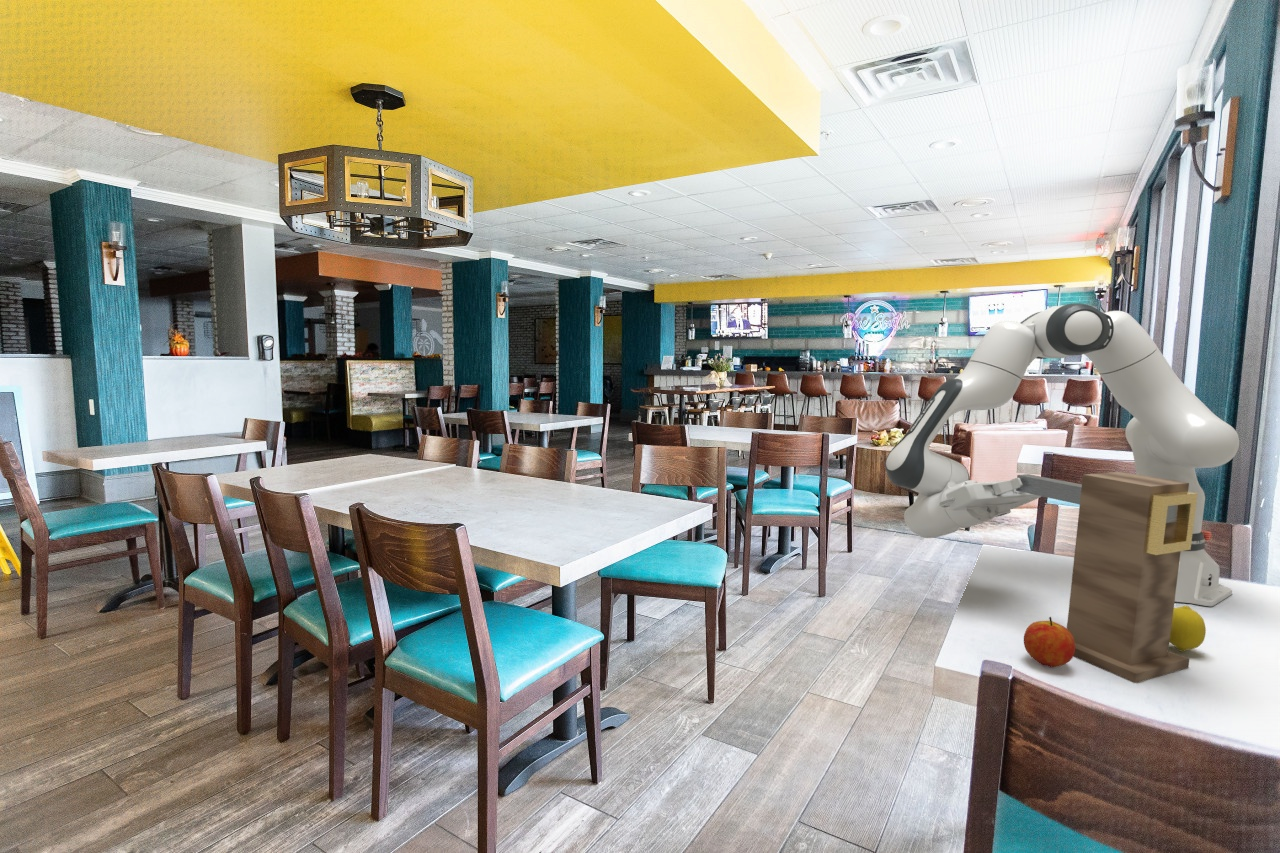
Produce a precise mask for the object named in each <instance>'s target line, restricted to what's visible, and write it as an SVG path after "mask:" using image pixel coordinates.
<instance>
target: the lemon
mask: <svg viewBox="0 0 1280 853" xmlns="http://www.w3.org/2000/svg"><path fill="white" fill-rule="evenodd" d="M1206 628H1207V627H1206V623H1205V621H1204V618H1203V617H1202V615H1201V614H1199V613H1198V612H1197V611H1196V610H1194V609H1192V608H1191V607H1190V606H1188V605H1183V606H1178V607H1174V609H1173V617H1172V625H1171V633H1170V642H1169V644H1171V646H1174V647H1175V649H1177V650H1178V651H1179V652H1185V651H1187V650H1193V649H1197V648H1198V647H1199V646H1201V645H1202V644H1203V642H1204V641H1205V638H1206V631H1207V629H1206Z"/></svg>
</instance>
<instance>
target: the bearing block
mask: <svg viewBox="0 0 1280 853" xmlns="http://www.w3.org/2000/svg"><path fill="white" fill-rule="evenodd" d="M1081 481H1082V482H1081V484H1082V488H1081V498H1080V505H1079V509H1078V519H1077V528H1076V536H1075V537H1076V538H1075V547H1074V556H1073V566H1072V573H1071V574H1072V576H1071V585H1070V593H1069V603H1068V604H1069V605H1068V613H1067V623H1066V624H1067V625H1066V629H1068V630H1069V631H1070V633H1071V634H1072V636H1073V638H1074V642H1075V653H1074V656H1073V657H1074V658H1076V659H1079V660H1081V661H1084V662H1085V663H1088V664H1090V665H1092V666H1094V667H1097V668H1099V669H1102V670H1104V671H1106V672H1109V673H1110V674H1112V675H1113V674H1114V675H1116V676H1118V677H1120V678H1122V679H1124V680H1127V681H1129V682H1132V683H1134V684H1137V683H1141V682H1144V681H1147V680H1150V679H1154V678H1157V677H1160V676H1164V675H1168V674H1171V673H1172V674H1173V673H1176V672H1178V671H1181V670H1185V669H1188V668H1189V666H1190V658H1188V657H1185V656H1183V655H1180V654H1178V653H1175V652H1173V651H1170V650H1169V648H1170V633H1171V625H1172V617H1173V609H1174V608H1175V602H1174V601H1175V593H1176V585H1177V577H1178V569H1179V561H1180V553H1181V551H1179V552H1173V553H1166V554H1160V555H1154V554H1150V553H1146V552H1145V549H1146V540H1147V532H1148V523H1149V515H1150V506H1151V498H1152V495H1154V494H1164V493H1174V492H1184V491H1187V492H1188V488H1189V483H1186V482H1180V481H1174V480H1168V479H1162V478H1155V477H1149V476H1143V475H1137V474H1136V473H1130V472H1125V471H1113V472H1100V473H1086V474H1082V480H1081ZM1178 510H1179V505H1178ZM1177 518H1178V511H1177ZM1176 526H1177V520H1176V522H1170V523H1166V526H1165V534H1164V540H1168V539H1175V534H1176Z"/></svg>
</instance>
